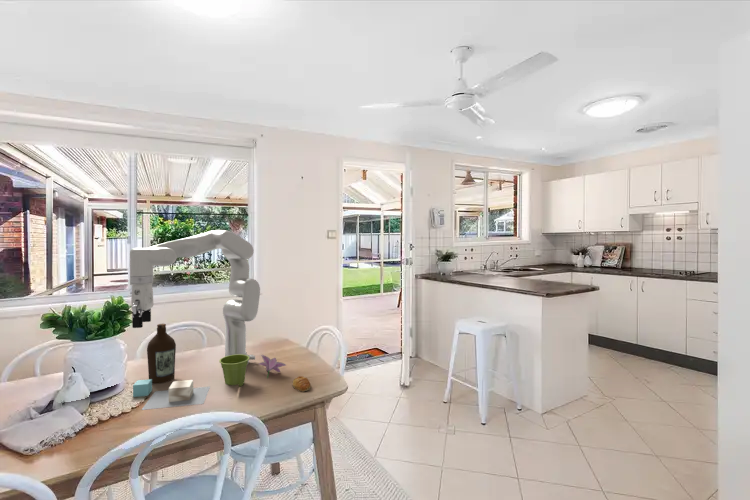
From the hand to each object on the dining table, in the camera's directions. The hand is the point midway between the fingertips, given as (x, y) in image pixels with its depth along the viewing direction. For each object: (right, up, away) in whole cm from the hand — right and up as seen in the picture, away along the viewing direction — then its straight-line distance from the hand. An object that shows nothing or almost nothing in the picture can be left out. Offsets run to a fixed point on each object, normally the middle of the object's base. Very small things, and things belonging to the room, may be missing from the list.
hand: (142, 324), depth 142 cm
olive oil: (-1, -28, +15) cm, 32 cm away
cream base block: (+16, -27, -2) cm, 32 cm away
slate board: (+15, -29, -2) cm, 32 cm away
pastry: (+59, -29, +13) cm, 67 cm away
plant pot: (+30, -29, +14) cm, 44 cm away
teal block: (0, -28, +1) cm, 28 cm away
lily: (+43, -28, +26) cm, 57 cm away
